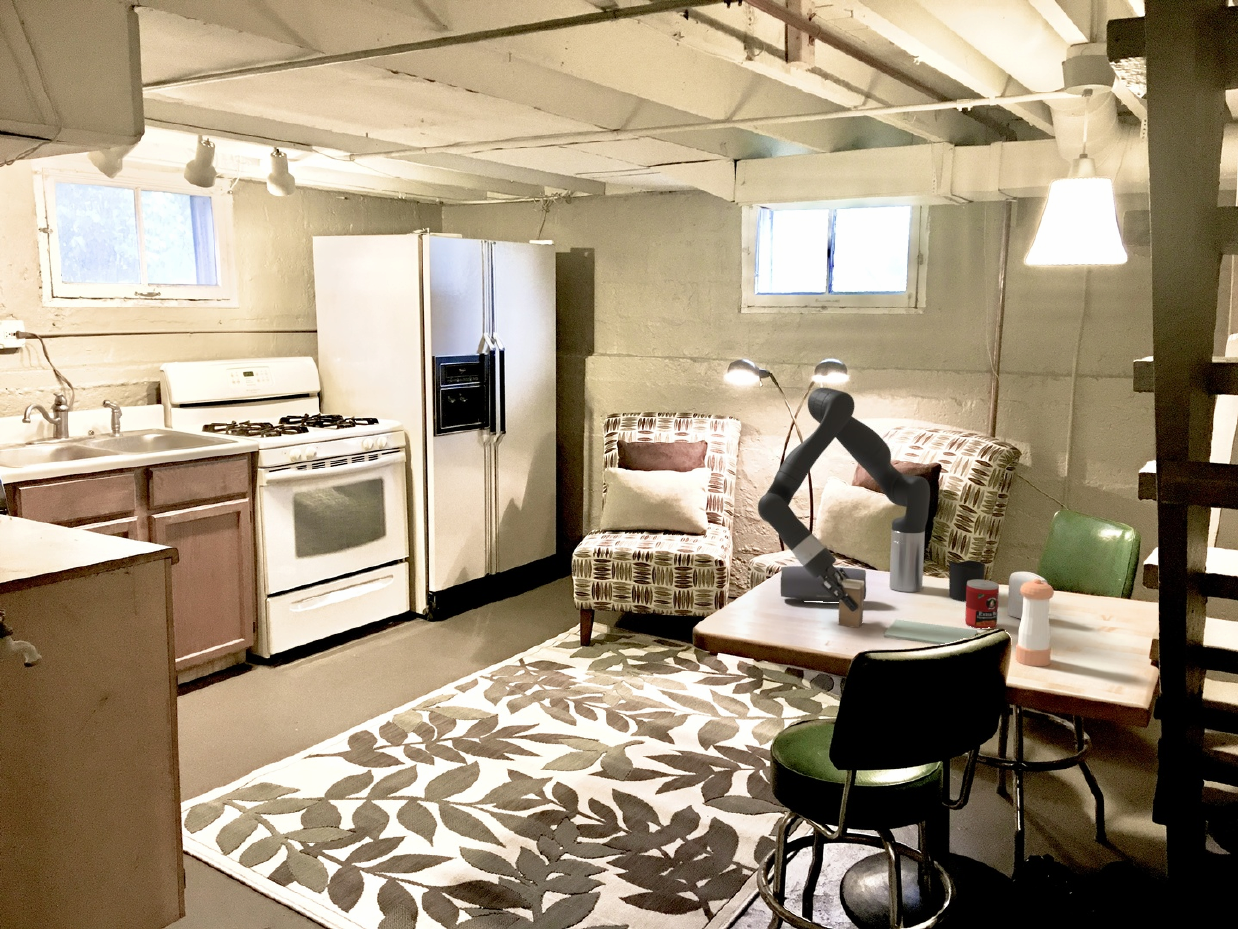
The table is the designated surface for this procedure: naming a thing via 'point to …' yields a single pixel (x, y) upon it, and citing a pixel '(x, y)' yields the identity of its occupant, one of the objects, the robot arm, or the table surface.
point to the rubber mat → (927, 632)
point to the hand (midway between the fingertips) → (858, 606)
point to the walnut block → (857, 593)
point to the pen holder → (963, 577)
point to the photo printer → (1014, 591)
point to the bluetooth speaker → (812, 583)
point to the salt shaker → (1034, 624)
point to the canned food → (981, 603)
